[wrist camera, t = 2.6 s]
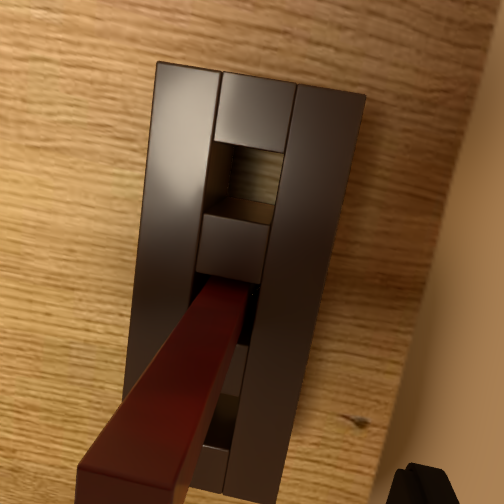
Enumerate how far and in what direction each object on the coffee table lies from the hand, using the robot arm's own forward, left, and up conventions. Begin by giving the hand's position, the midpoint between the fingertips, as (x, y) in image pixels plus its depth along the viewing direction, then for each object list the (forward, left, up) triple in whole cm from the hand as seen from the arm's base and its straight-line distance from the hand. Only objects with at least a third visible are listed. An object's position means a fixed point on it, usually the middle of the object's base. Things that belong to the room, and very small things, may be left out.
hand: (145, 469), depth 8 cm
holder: (0, 0, -13) cm, 13 cm away
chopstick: (0, 0, -13) cm, 13 cm away
